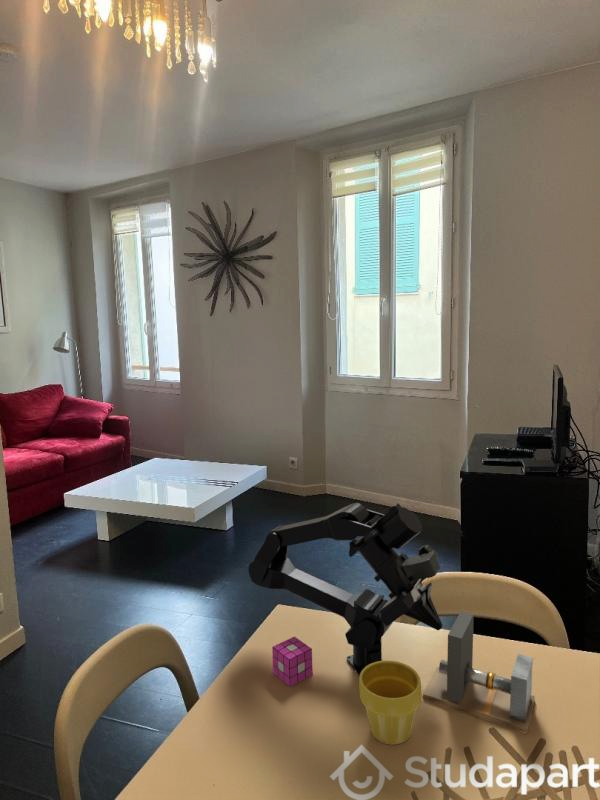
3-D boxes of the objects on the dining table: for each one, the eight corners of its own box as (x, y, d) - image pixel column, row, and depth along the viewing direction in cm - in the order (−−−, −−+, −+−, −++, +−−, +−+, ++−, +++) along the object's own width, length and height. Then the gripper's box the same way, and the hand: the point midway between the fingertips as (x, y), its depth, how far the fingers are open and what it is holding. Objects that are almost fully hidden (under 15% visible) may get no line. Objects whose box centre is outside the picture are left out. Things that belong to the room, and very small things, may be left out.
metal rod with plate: (435, 694, 102) (435, 653, 101) (445, 672, 108) (446, 634, 106) (525, 723, 94) (526, 680, 93) (531, 698, 100) (532, 657, 99)
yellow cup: (348, 719, 97) (348, 668, 96) (399, 703, 101) (399, 653, 100) (378, 762, 88) (378, 706, 86) (433, 742, 91) (434, 688, 90)
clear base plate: (422, 698, 102) (422, 693, 102) (436, 671, 110) (437, 666, 110) (527, 733, 93) (527, 727, 93) (534, 701, 101) (534, 695, 101)
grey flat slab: (446, 699, 100) (447, 634, 98) (459, 671, 107) (460, 611, 105) (460, 703, 98) (461, 638, 97) (472, 675, 106) (473, 614, 104)
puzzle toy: (272, 672, 111) (271, 646, 110) (295, 661, 114) (294, 635, 113) (290, 687, 106) (289, 659, 105) (312, 675, 110) (312, 648, 109)
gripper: (395, 556, 95) (459, 633, 91) (428, 521, 111) (483, 585, 107) (354, 589, 100) (413, 663, 97) (391, 551, 116) (442, 613, 113)
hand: (440, 628), depth 103 cm, fingers closed
